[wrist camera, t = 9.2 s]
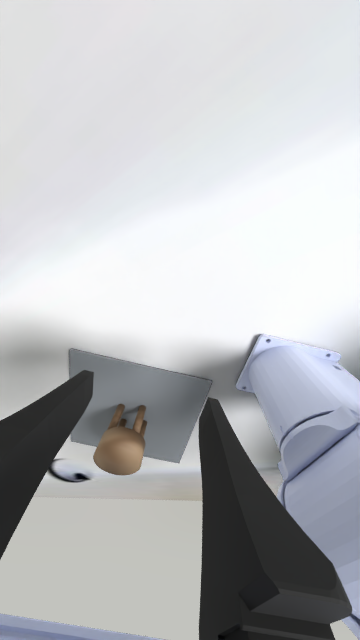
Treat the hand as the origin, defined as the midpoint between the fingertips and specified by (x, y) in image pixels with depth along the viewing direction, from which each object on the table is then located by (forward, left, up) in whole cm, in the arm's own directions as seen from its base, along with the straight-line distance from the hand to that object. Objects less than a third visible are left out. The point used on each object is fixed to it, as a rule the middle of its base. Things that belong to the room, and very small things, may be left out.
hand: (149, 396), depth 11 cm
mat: (+2, +15, -10) cm, 18 cm away
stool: (+2, +15, -10) cm, 18 cm away
